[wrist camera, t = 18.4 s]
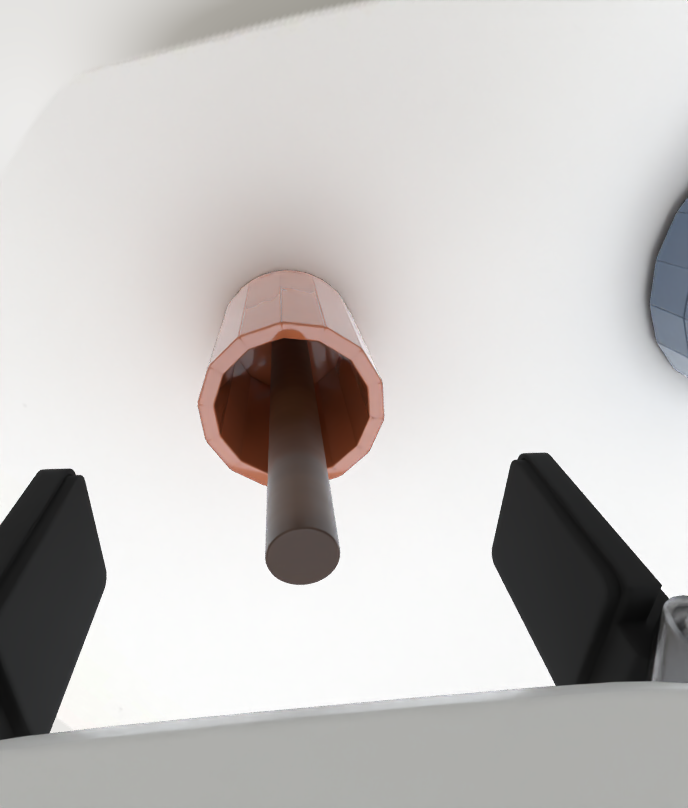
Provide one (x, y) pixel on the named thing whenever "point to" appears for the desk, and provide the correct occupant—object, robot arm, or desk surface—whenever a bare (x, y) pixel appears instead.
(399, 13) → the desk surface
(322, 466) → the stick
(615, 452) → the desk surface
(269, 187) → the desk surface
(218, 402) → the crock
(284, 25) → the desk surface
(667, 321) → the bowl
